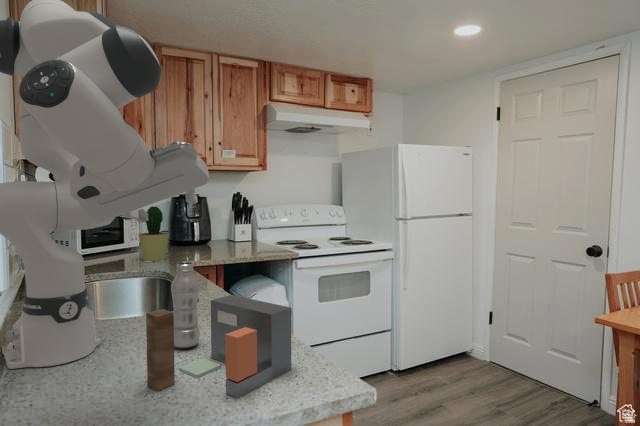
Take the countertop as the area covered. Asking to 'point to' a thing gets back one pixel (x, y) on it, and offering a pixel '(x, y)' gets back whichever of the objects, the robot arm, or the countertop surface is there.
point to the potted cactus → (154, 237)
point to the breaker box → (270, 338)
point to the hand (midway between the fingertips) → (169, 210)
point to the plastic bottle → (185, 306)
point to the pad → (199, 367)
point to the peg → (160, 349)
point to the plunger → (241, 353)
